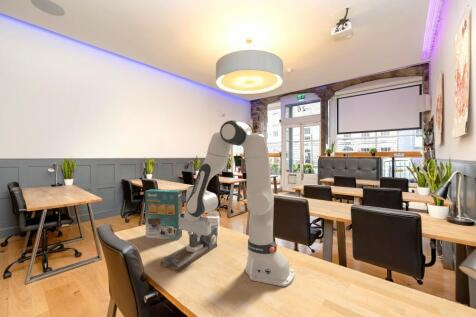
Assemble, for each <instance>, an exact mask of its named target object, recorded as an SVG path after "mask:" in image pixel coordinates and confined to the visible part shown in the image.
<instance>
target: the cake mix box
mask: <svg viewBox="0 0 476 317" xmlns="http://www.w3.org/2000/svg"><path fill="white" fill-rule="evenodd" d="M144 192H145V193H144V196H145V198H144V202H145V205H144V206H145V207H144V208H145V210H144V211H145V213H144V214H145V238H147V239H159V240H160V239H161V240H174V241H175V240H180V238H182V236H183V230H181V229H180V228H179V218H180V217H179V214H180V213H182V212H183V198H182V197H183V196H182V195H183V191H182V190H181V189H180V190H179V189H178V190H177V189H156V188H155V189H154V188H151V189H148V190H145V191H144Z"/></svg>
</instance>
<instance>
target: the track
mask: <svg viewBox="0 0 476 317" xmlns="http://www.w3.org/2000/svg"><path fill="white" fill-rule="evenodd" d="M217 241H218V235H217V227H213V226H211V233H210V234H209V235H207V236H205V235H201V237H200V244H203V248H202V249H200V250H199V251H197V252H195V253H193V252H190V251H186V246H187V245H186V246H184V247H182V248H180V249H178V250H176V251H173V253H170V254H168V255H166V256H164V257H163V258H162V260H161V261H160V262H159V265H160V266H161V267H164V268H165V269H169V270H172V271H175V273H176V272H177V273H180V272H181V271H182V270H184V269H185V268H187V267H189V266H190V265H191V264H193V263H195V262H197V260H199V259H201V258H202V257H203V256H205V255H207V254H208V253H210V252H211V251H212V250H214V249H216V248H218V243H217Z"/></svg>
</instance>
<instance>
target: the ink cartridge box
mask: <svg viewBox="0 0 476 317" xmlns="http://www.w3.org/2000/svg"><path fill="white" fill-rule="evenodd" d="M206 217H208V218H209V220H210V224H211V226H213V227H217V236H219V234H220V211H216V210H215V211H214V210H211V211H209V212H207V214H206Z"/></svg>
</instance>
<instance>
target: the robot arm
mask: <svg viewBox="0 0 476 317" xmlns="http://www.w3.org/2000/svg"><path fill="white" fill-rule="evenodd" d="M233 146H241V147H242V148H243V151H244V162H245V171H246V207H247V210H248V211H249V212H250V213H249V214H250V215H249V221H248V239H247V251H248V252H247V261H246V264H245V268H244V270H245V273H246V274H247V275H248V276H249V277H248V278H249V280H250V281H254V282H259V283H263V284H268V285H269V284H270V285H274V286H279V287H287V286H289V285H290V284H291V283H292V282H293V281H294V279H295V270H294V269H293V268H291V267H290V264H289V260H288V258H287V257H286V256H284V255H283V253H282V252H280V251H279V250H278V248H277V247H278V246H279V245H278V242H276V243H275V242H274V239H273V237H274V212H275V211H274V208H275V207H274V206H275V205H274V204H275V194H274V192H273V190H272V176H271V173H272V172H271V163H270V154H269V147H268V144H267V140H266V137H265V136H264V135H263V134H261V133H259V132H255V131H254V128H253V127H252V126H251V125H250V124H248V123H245V122H242V121H239V120H233V119H232V120H227V121H225V122H224V123H222V125H221V127H220V130H219V131H217V132H214V133H213V134H212V136H211V139H210V141H209V143H208V147H207V151H206V152H207V153H206V155H205V157H204V158H205V159H204V161H203V162H202V164H201V165H200V167H199V168H198V171H197V175H196V178H195V181H194V184H193V185H191V186H188V187H187V189H186V195H185V196H186V197H185V203H186V204H185V209H186V210H185V211H182V213H180V214H179V217H180V218H179V228H180V229H181V230H182V231H185V232H187V235H188V236H189V235H191V234H193V233H197V235H198V237H197V238H196V241H200V237H201V235H205V236H207V235H209V234H210V233H211V224H210V220H209V218H208V217H207V216H204V214H208V212H209V211H214V210H215V209H217V208H218V205H219V197H218V196H217V194H216V193H214V192H211V191H209V190H207V187H208V185H209V183H210V180H212V178H213V177H214V176H216V175H218V174H219V173H220V172H222V171H224V170H225V168H226V166H227V165H228V161H229V158H230V152H231V149H232V147H233Z"/></svg>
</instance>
